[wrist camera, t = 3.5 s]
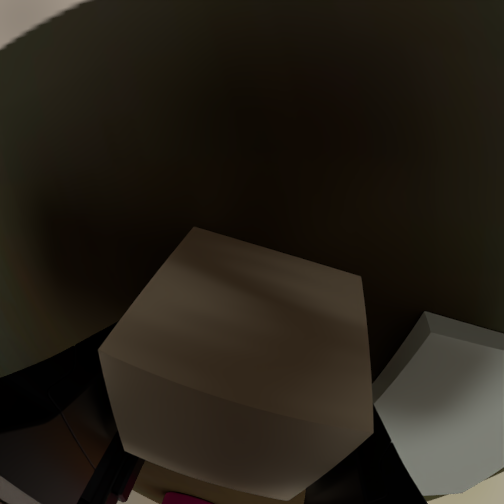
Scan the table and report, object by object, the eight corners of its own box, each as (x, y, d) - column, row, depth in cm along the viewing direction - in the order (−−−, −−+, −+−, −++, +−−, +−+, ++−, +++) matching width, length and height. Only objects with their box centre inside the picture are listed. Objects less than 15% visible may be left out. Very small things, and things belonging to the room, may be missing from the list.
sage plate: (291, 471, 16) (289, 485, 15) (424, 310, 9) (430, 332, 8) (461, 482, 15) (462, 492, 15) (599, 360, 8) (606, 372, 7)
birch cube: (180, 341, 12) (124, 450, 8) (194, 226, 9) (97, 349, 5) (306, 379, 12) (287, 500, 7) (361, 276, 9) (373, 432, 5)
